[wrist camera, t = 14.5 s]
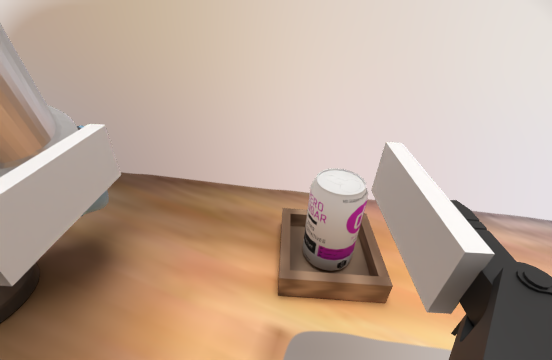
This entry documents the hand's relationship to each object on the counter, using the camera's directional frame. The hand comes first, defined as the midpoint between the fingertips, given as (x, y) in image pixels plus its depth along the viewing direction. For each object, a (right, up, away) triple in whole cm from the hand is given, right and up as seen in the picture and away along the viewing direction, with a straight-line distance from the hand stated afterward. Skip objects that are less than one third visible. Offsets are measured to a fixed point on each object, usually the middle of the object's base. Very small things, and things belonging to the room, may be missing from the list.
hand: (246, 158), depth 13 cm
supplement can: (+10, -14, +33) cm, 37 cm away
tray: (+10, -15, +34) cm, 38 cm away
